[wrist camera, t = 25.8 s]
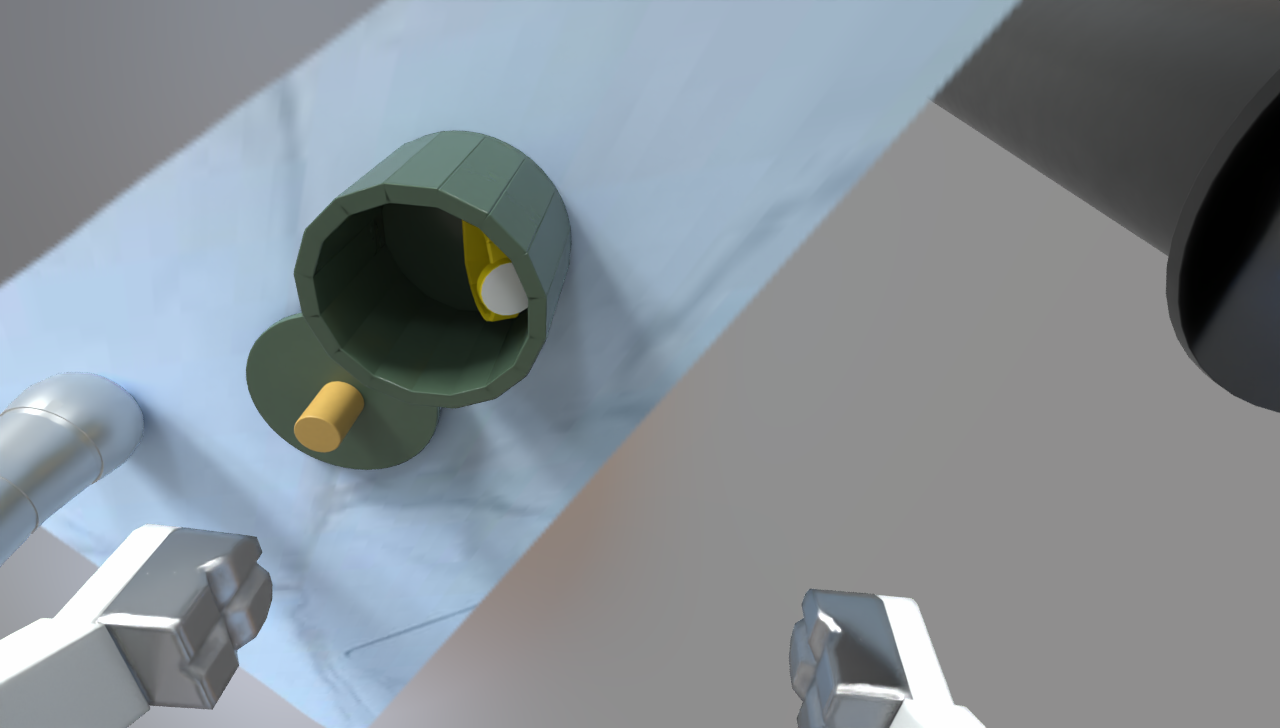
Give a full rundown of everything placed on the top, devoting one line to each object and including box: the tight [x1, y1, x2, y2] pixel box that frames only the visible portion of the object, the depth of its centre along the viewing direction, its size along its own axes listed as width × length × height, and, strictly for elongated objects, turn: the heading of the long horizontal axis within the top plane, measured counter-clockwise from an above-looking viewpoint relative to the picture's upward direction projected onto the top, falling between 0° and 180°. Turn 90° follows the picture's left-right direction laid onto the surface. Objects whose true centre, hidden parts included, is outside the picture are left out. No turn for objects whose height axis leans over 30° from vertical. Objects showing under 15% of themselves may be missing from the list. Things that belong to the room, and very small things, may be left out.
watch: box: [462, 220, 528, 322], centre depth 33 cm, size 6×3×6 cm
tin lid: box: [246, 313, 440, 470], centre depth 40 cm, size 11×11×5 cm
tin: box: [294, 131, 571, 408], centre depth 32 cm, size 11×11×8 cm
